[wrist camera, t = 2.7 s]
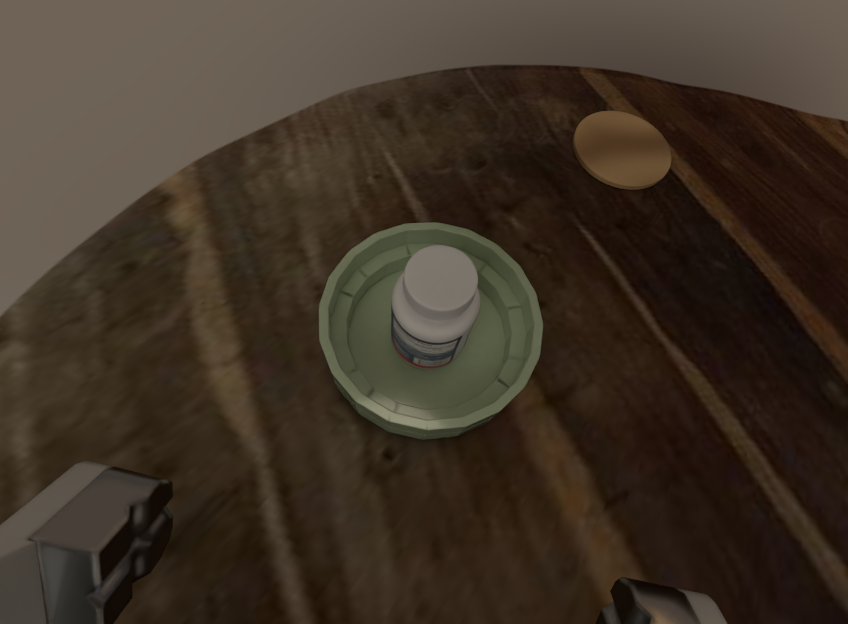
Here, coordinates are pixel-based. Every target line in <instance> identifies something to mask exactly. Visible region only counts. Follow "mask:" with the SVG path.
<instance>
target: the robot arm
mask: <svg viewBox="0 0 848 624" xmlns="http://www.w3.org/2000/svg"><path fill="white" fill-rule="evenodd" d="M172 497H173V488H172V482H171V481H169V480H167V479H163V478H159V477H155V476H151V475H147V474H142V473H138V472H134V471H130V470H126V469H122V468H118V467H112V466H108V465H103V464H99V463H95V462H91V461H87V460H86V461H83V462H81V463H78V464H75V465H74V466H73V467H71V468H70V469H69V470H68V471H66V472H65V473H64V474H63V475H61V476H60V477H59V478H58V479H57V480H55V481H54V482H53V483H52V484H50V485H49V486H48V487H47V488H45V489H44V490H43V491H42V492H41V493H39V494H38V495H37V496H36V497H34V498H33V499H32V500H31V501H29V502H28V503H27V504H26V505H25V506H23V507H22V508H21V509H20V510H18V511H17V512H16V513H15V514H13V515H12V516H11V517H10V518H9V519H7V520H6V521H5V522H4V523H2V524H1V525H0V624H113V623H114V622H115V621H116V619H117V618H118V616H119V615H120V614H121V612H122V611H123V610H124V608H125V607H126V606H127V604H128V603H129V602H130V600H131V599H132V583H134V582H135V581H137V580H139V579H141V578H142V577H144V576H146V575H148V574H149V573H151V571H152V570H153V569H154V567H155V566H156V564H157V563H158V561H159V560H160V559H161V557H162V555H163V553H164V551H165V548H166V546H167V544H168V542H169V540H170V536H171V531H172V527H173V516H172V514H171V513H170V511H169V510H168V509H167V507H166V505H167V503H168V502H169V501H170V500H171V499H172ZM610 592H611V595H612V598H613V601H614V602H613V603H611V604H609V605H608V606H606V607H604V608H602V609H601V612H600V614H599V616H598V619H597V621H596V624H727V622H726V620H725V619H724V617H723V615H722V613H721V612H720V610H719V608H718V606H717V605H716V603H715V602H714V601H713V600H712V599H711V598H710V597H709V596H708V595H706V594H701V593H696V592H692V591H687V590H682V589H675V588H673V587H668V586H663V585H658V584H653V583H648V582H644V581H639V580H634V579H629V578H624V577H621V578H620V579H618V580H617V581H615V583H614V585H613V587H612V589H611V591H610Z"/></svg>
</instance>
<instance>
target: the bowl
mask: <svg viewBox="0 0 848 624" xmlns="http://www.w3.org/2000/svg"><path fill="white" fill-rule="evenodd" d="M434 245H445V246H449V247H453V248H456V249H458V250H459V251H461V252H463V253H464V254H465V255H467V256H468V257H469V258H470V260H471V261H472V262H473V264H474V266H475V268H476V270H477V274H478V286H477V287H478V290H479V295H480V308H479V313H478V316H477V318H476V321H475V323H474V325H473V327H472V329H471V331H470V333H469V335H468V338H467V340H466V343H465V345H464V347H463V349H462V351H461V353H460V354H459V355H458V357H457V358H456V359H455V360H454V361H453V362H451V363H450V364H448V365H447V366H445V367H442V368H439V369H434V370H425V369H419V368H416V367H414V366H411V365H410V364H408V363H406V362H405V361H404V360H403V359H402V358H401V357H400V356H399V355H398V353H397V352H396V350H395V348H394V346H393V343H392V339H391V301H392V292H393V289H394V286H395V284H396V282H397V280H398V278H399V277H400V276H401V274H402V273H403V272H404V271H405V267H406V265H407V263H408V261H409V259H410V258H411V257H412V256H413V255H414V254H415V253H416V252H418V251H419V250H421V249H423V248H426V247H428V246H434ZM542 332H543V321H542V317H541V312H540V308H539V304H538V299H537V295H536V292H535V290H534V289H533V287H532V285H531V284H530V282H529V280H528V279H527V277H526V275H525V274H524V272H523V270H522V268H521V267H520V266H519V264H517V263H516V262H515V261H514V260H513V259H512V258H511V257H510V256H509V255H508V254H507V253H506V252H505V251H504V250H502V249H501V248H500V247H499V246H498V245H496V243H494V242H492V241H490V240H488V239H486V238H484V237H482V236H480V235H478V234H476V233H475V232H473V231H471V230H468V229H465V228H461V227H456V226H452V225H447V224H443V223H437V222H431V223H406V224H402V225H399V226H396V227H393V228H390V229H387V230H383V231H380V232H377V233H375V234H373V235H372V236H370V237H369V238H367V239H366V240H364V241H363V242H361V243H360V244H358V245H357V246H356V247H354V248H353V249H351V250H350V251H349V252H348V253H347V254H346V255H345V257H344V258H343V259H342V261H341V262H340V263H339V264H338V266H337V267H336V268H335V270H334V271H333V272H332V273H331V275H330V276H329V278H328V281H327V284H326V287H325V290H324V293H323V296H322V298H321V301H320V304H319V341H320V344H321V346H322V349H323V352H324V354H325V357H326V360H327V362H328V365H329V368H330V370H331V373H332V376H333V378H334V381H335V383H336V386H337V388H338V389H339V391H340V392H341V393H342V394H343V396H344V397H345V398H346V399H347V400H348V402H349V403H350V404H351V405H352V406H353V408H354V409H355V410H356V411H357V412H358V413H359V414H360V415H362V416H363V417H365V418H366V419H368V420H370V421H371V422H373V423H375V424H376V425H378V426H379V427H381V428H383V429H384V430H386V431H388V432H391V433H396V434H400V435H404V436H409V437H413V438H417V439H423V440H424V439H435V438H445V437H455V436H458V435H461V434H463V433H465V432H467V431H470V430H472V429H474V428H476V427H478V426H481V425H483V424H485V423H487V422H488V421H489V420H491V419H492V418H493V417H494V416H495V415H496V414H497V413H498V412H500V411H501V410H502V409H503V408H504V407H505V406H506V405H507V404H508V403H509V402H510V401H511V400H512V399H513V398H514V397H515V396H516V395H517V394H518V393H519V392H520V391H522V390H523V389H524V387H525V386H526V384H527V382H528V380H529V378H530V376H531V374H532V372H533V370H534V368H535V366H536V364H537V362H538V360H539V357H540V351H541V342H542Z"/></svg>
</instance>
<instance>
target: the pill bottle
mask: <svg viewBox="0 0 848 624" xmlns="http://www.w3.org/2000/svg"><path fill="white" fill-rule="evenodd" d="M477 286H478V274H477V270H476V268H475V266H474V264H473V262H472V261H471V260H470V258H469V257H468V256H467V255H465V254H464V253H463V252H461V251H459V250H458V249H456V248H453V247H449V246H445V245H434V246H428V247H426V248H423V249H421V250H419V251H418V252H416V253H415V254H414V255H413V256H412V257H411V258H410V259H409V261H408V263H407V265H406V267H405V271H404V272H403V273H402V274H401V276H400V277H399V278H398V280H397V282H396V284H395V286H394V289H393V292H392V301H391V339H392V343H393V346H394V348H395V350H396V352H397V353H398V355H399V356H400V357H401V358H402V359H403V360H404V361H405V362H406V363H408V364H410V365H411V366H414V367H416V368H419V369H425V370H434V369H439V368H442V367H445V366H447V365H448V364H450V363H451V362H453V361H454V360H455V359H456V358H457V357H458V355H459V354H460V353H461V351H462V349H463V347H464V345H465V343H466V340H467V338H468V335H469V333H470V331H471V329H472V327H473V325H474V323H475V321H476V318H477V316H478V313H479V308H480V295H479V290H478V287H477Z"/></svg>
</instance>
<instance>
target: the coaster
mask: <svg viewBox="0 0 848 624" xmlns="http://www.w3.org/2000/svg"><path fill="white" fill-rule="evenodd" d="M573 150H574V153H575V156H576V158H577V160H578V161H579V163H580V164H581V165H582V167H583V168H584V169H585V170H586V171H587V172H588V173H589V174H591V175H592V176H593V177H595V178H596V179H598V180H599V181H601V182H603V183H605V184H608V185H610V186H613V187H616V188H621V189H628V190H638V189H644V188H648V187H650V186H653V185H655V184H656V183H658V182H659V181H660V180H661V179H662V178H663V177H664V176H665V175H666V173H667V172H668V170H669V168H670V165H671V152H670V148H669V146H668V143H667V142H666V140H665V138H664V137H663V136H662V134H661V133H660V132H659V131H658V130H657V129H656V128H655V127H653V126H652V125H651V124H649V123H648V122H646V121H645V120H643V119H641V118H639V117H637V116H634V115H632V114H628V113H625V112H619V111H602V112H597V113H594V114H591V115H589V116H588V117H586V118H585V119H583V120H582V121H581V122H580V123H579V125H578V126H577V128H576V130H575V133H574V135H573Z"/></svg>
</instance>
